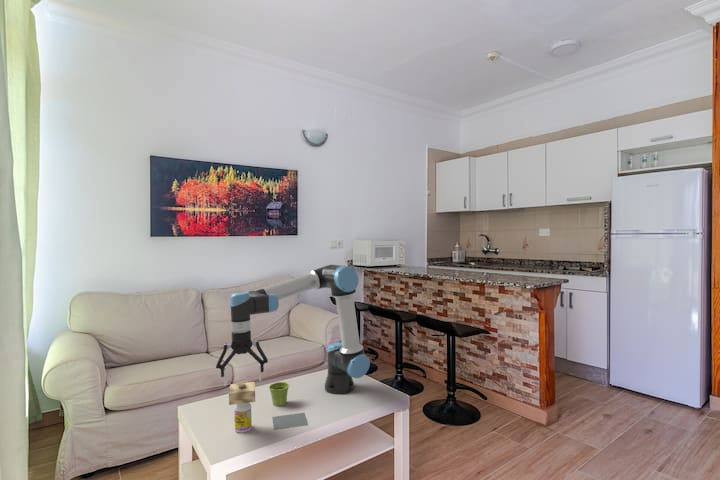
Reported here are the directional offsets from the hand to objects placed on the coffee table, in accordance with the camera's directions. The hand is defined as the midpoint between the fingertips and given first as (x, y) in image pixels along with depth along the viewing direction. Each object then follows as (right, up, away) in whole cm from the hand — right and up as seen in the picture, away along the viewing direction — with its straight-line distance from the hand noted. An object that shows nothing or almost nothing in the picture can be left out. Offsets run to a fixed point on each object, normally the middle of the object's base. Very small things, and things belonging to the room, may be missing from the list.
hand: (243, 382), depth 162 cm
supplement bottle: (0, -20, 0) cm, 20 cm away
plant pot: (+10, -19, +24) cm, 32 cm away
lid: (0, -7, 0) cm, 7 cm away
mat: (+18, -19, +6) cm, 27 cm away
